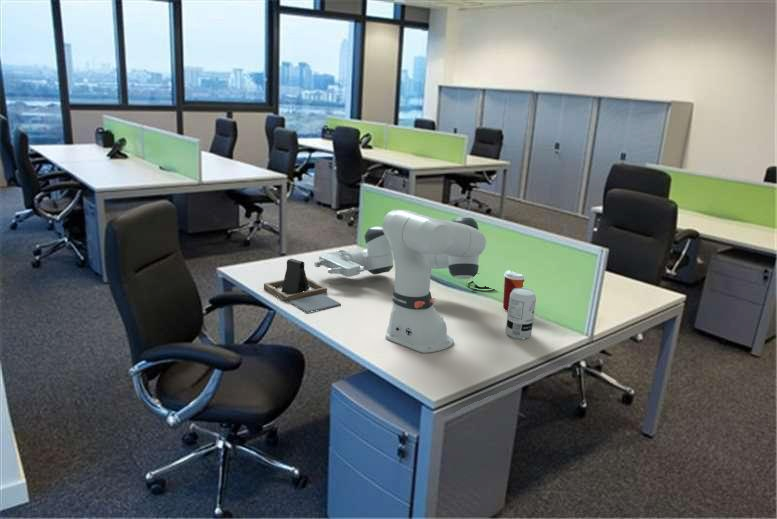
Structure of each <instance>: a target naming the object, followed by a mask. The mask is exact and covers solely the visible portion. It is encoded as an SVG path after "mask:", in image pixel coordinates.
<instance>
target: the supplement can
mask: <svg viewBox="0 0 777 519" xmlns="http://www.w3.org/2000/svg"><path fill="white" fill-rule="evenodd" d="M536 300H537V296H536V294H535V291H533V290H531V289H529V288H524V287H523V288H515V289H513V290H512V292H511V293H510V299H509V307H508V311H507V316H506V325H505V333H506V334H507V336H508V335H509V337H510V336H511V337H510V338H512V337H514V338H513V339H515V338H520V339H519V340H524V339H523V338H527V339H529V338H530V337H531V336H532V331H533V324H534V315H535V309H536Z"/></svg>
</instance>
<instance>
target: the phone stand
mask: <svg viewBox="0 0 777 519" xmlns="http://www.w3.org/2000/svg"><path fill="white" fill-rule="evenodd" d="M306 277H307V274H306V270H305V262H304V261H302V260H297V259H293V258H289V259H288V258H287V261H286V269H285V274H284V278H283V280H284V282H283V286H281V287H282V288H281V290H280V291H281V292H283V293H285V294H286V293H287V294H286V295H290V294H295V293H300V292H303V291H304V292H305V291H306V290H307V291H309V290H310V286H309V285H308V282H307V278H308V277H307V278H306ZM308 289H309V290H308Z"/></svg>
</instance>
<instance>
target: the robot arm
mask: <svg viewBox="0 0 777 519" xmlns="http://www.w3.org/2000/svg"><path fill="white" fill-rule="evenodd" d="M381 225H382V226H372V227H369V228H368V229H367V231H366V232H365V234H364V235H363V236H364V241H365V244H366V248H364V249H362V250H352V251H351V250H342V249H338V250H336V251H334V252H326V253H323V254H320V255H319V256H318V260H317V261H315V262H314V267H315V268H320V267H322V266H323V267H325V268H327V273H329V274H331V275H333V274H335V275H336V274H337V275H339V274H340V275H342V276H344V277H346V278H351V277H354V276H357V275H360V273H361V272H364V271H367V272H369V273H370V274H371V275H380V274H383V273H389V272H390V271H391V270H392V269H393V267H394V268H395V269H394V288H393V291H392V295H391V296H392V302H393V303H392V307H391V311H390V317H389V322H388V326H387V329H386V334H385V339H386V340H389V341H390V342H391V341H392V342H394V343H396V344H398V345H401V346H404V347H407V348H410V349H411V350H414V351H417V352H419V353H423V354H424V353H435V352H439V351H440V352H441V351H442V350H446V349H447V348H450V347H452V346H453V345H454V343H455V342H454V341H455V339H453V338H452V337H451V336H450V335H448V334H447V332H448V330H447V329H448V328H447V324H446V322H445V320H444V318H443V316H441V314H439V312H438V311H437V309H436V308H435V306H434V303H435V302H436V297H434V298H433V297H432V292H431V291H430V290H431V274H432V270H444V269H448V272H449V274H450V276H452V277H453V278H456V279H459V280H470V279H472V278H473V277H474V276H475V275H476V274H479V273H478V272H479V266H480V265H479V258H480V255H481V254H483V253H484V251H485V249H486V247H487V246H486V245H487V240H486V236H485V235H484V233H483V232H482V231H480V230H479V224H478V222H477V221H476V220H475V219H474V218H473V217H472V218H471V217H468V216H459V217H455V218H453V219H452V220H447V219H439V218H434V217H431V216H428V215H424V214H421V213H419V212H415V211H412V210H408V209H393V210H390V211H389V212H388V213H387V214H386V215H385V216H384V218H383V221H382V224H381Z"/></svg>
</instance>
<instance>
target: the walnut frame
mask: <svg viewBox="0 0 777 519" xmlns="http://www.w3.org/2000/svg"><path fill="white" fill-rule="evenodd" d="M306 278H307V282H308V286H309V287H311V288H313V289H309V290H307V291H304V292H300V293H295V294H286V293H283V292H281V291H282V290H280V289H278V288H279V287H283V282H284V279H281V280H275V281H270V282H264V283H263V289H264V290H265V289H266V290H265V291H267V292H269V293H270V292H271V293H270V294H272V295H274V296H275V295H276V296H275V297H277V296H278V297H277V298H279V300H280V299H281V300H282V301H283V302H285V301H286V303H288V302H287V301H290V300H295V299H300V298H304V297H309V296H313V295H318V294H324V295H326V294H328V287H326V286H324V285H323V284H320V283H319V282H316V281H314V280H313V279H311V278H308V277H307V276H306ZM274 287H275V288H274Z"/></svg>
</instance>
